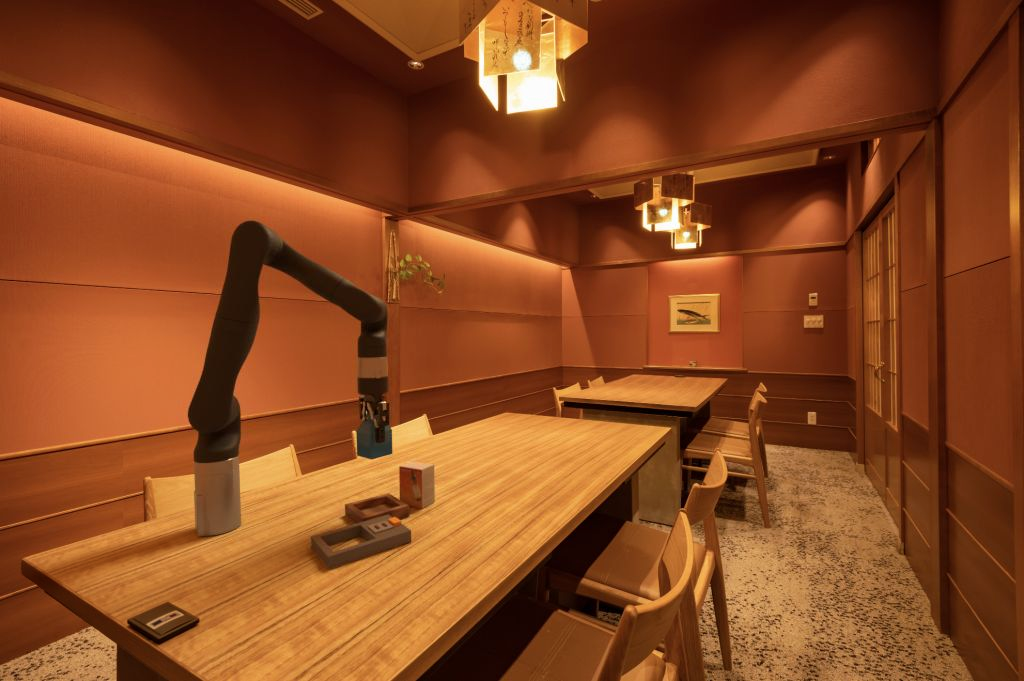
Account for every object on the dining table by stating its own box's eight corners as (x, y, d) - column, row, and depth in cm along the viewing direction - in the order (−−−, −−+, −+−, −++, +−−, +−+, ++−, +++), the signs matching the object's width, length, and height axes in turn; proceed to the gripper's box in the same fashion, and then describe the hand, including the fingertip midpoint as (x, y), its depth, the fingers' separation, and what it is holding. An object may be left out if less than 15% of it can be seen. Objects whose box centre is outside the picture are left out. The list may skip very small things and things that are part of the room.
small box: (399, 504, 125) (398, 465, 125) (412, 497, 130) (411, 460, 130) (422, 509, 121) (421, 469, 121) (435, 501, 126) (434, 463, 126)
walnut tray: (362, 530, 109) (362, 518, 109) (345, 515, 118) (344, 504, 118) (409, 516, 117) (408, 505, 116) (389, 503, 126) (388, 493, 126)
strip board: (328, 569, 91) (328, 552, 91) (311, 547, 101) (310, 532, 100) (411, 541, 103) (410, 526, 103) (388, 524, 112) (388, 511, 112)
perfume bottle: (371, 459, 113) (370, 410, 112) (357, 455, 116) (355, 408, 116) (392, 453, 117) (391, 407, 117) (377, 450, 121) (376, 405, 121)
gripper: (348, 374, 120) (349, 437, 120) (369, 378, 108) (371, 447, 109) (375, 372, 124) (377, 432, 125) (398, 375, 113) (400, 442, 113)
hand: (374, 439), depth 117 cm, fingers closed on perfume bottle, 7 cm apart
